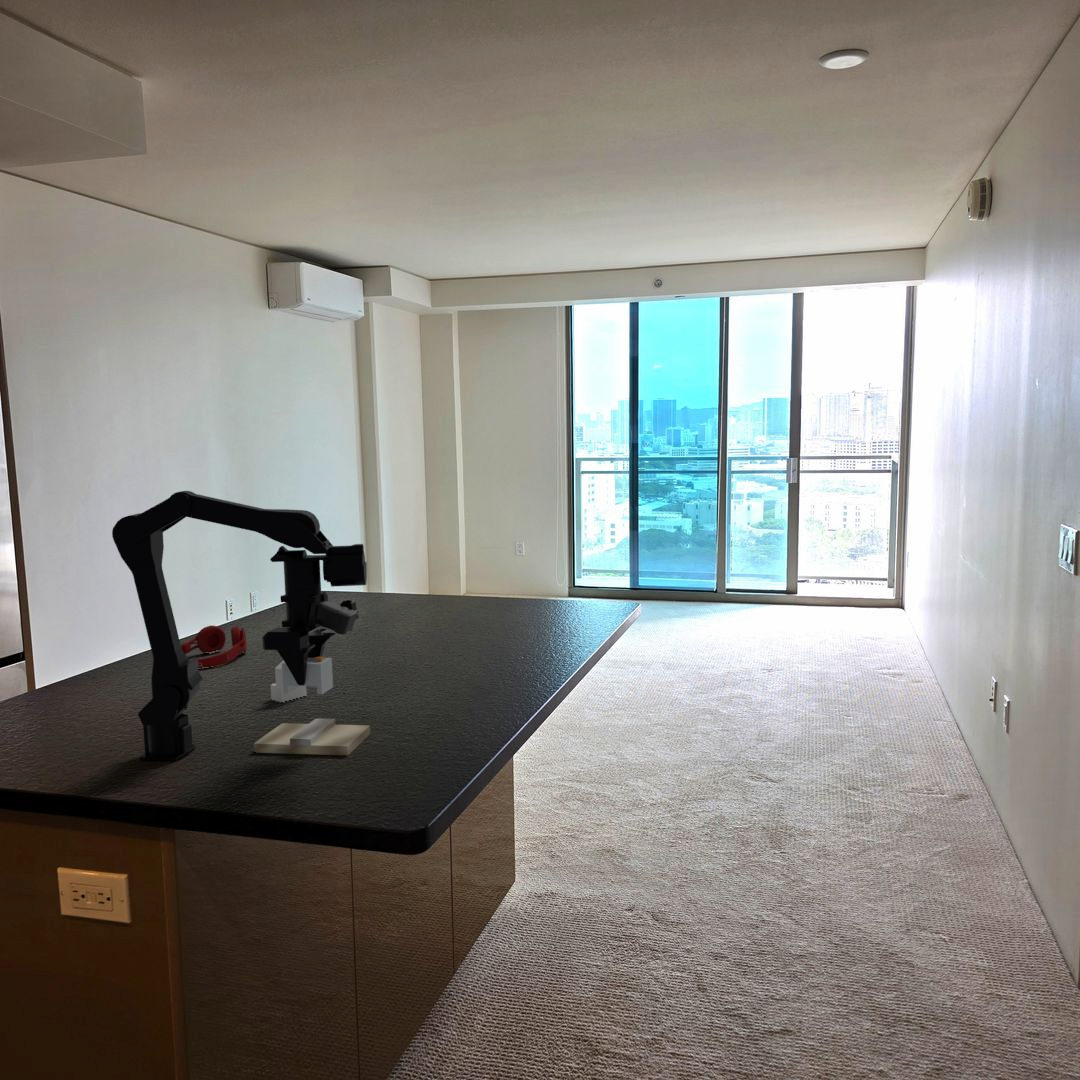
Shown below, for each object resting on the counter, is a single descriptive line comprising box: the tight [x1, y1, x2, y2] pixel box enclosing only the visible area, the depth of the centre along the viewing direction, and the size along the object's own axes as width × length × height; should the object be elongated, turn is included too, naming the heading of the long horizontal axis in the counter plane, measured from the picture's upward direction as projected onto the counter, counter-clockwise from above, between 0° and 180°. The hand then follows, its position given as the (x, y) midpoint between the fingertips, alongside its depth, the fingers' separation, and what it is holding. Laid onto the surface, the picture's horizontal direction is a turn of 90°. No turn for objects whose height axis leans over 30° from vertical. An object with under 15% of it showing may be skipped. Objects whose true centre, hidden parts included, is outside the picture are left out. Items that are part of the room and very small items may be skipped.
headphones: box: [180, 625, 248, 668], centre depth 215 cm, size 15×7×20 cm
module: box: [282, 655, 334, 695], centre depth 149 cm, size 7×4×6 cm
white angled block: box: [270, 659, 308, 703], centre depth 181 cm, size 4×10×9 cm, turn 141°
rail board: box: [253, 718, 371, 756], centre depth 152 cm, size 16×11×2 cm
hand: (307, 681), depth 149 cm, fingers closed on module, 4 cm apart
